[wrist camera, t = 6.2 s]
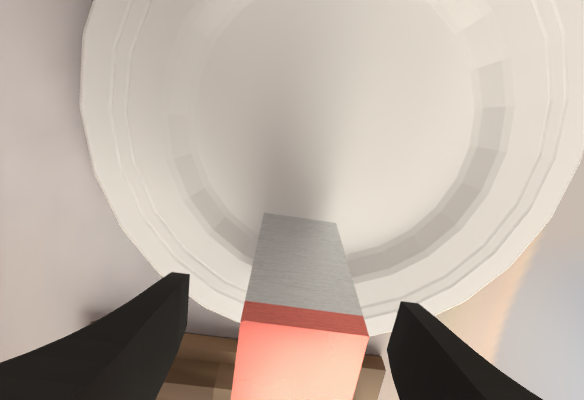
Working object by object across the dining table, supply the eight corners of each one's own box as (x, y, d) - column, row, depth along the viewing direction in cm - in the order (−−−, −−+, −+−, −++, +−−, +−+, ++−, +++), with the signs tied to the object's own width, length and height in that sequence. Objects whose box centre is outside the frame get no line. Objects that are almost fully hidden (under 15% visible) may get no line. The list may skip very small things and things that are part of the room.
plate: (80, -202, 13) (45, -248, 11) (649, -125, 13) (705, -156, 11) (113, 300, 19) (95, 323, 18) (489, 335, 20) (508, 360, 18)
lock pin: (323, 285, 17) (344, 430, 10) (255, 276, 17) (228, 417, 10) (335, 222, 16) (369, 336, 9) (263, 212, 16) (240, 320, 9)
